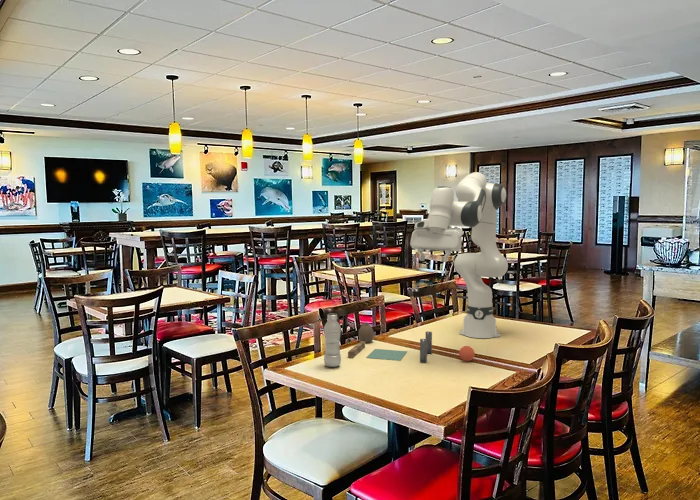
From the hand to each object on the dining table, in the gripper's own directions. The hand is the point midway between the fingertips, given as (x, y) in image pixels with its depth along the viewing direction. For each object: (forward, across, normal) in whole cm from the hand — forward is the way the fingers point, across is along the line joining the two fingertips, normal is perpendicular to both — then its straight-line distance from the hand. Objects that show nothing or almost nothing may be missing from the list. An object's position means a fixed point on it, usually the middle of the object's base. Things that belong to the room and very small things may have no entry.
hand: (432, 261), depth 198 cm
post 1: (+38, +4, -12) cm, 40 cm away
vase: (+34, +40, -26) cm, 58 cm away
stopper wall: (+39, +33, -10) cm, 52 cm away
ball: (+31, -10, -22) cm, 40 cm away
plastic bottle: (+46, +29, +11) cm, 55 cm away
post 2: (+34, +8, -24) cm, 42 cm away
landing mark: (+37, +21, -14) cm, 45 cm away
